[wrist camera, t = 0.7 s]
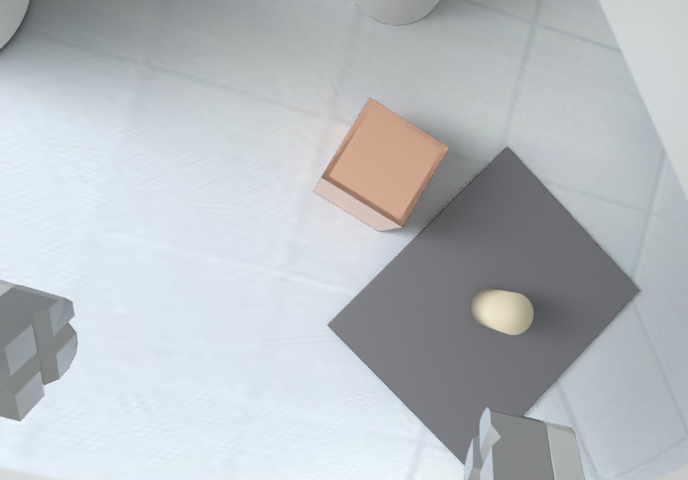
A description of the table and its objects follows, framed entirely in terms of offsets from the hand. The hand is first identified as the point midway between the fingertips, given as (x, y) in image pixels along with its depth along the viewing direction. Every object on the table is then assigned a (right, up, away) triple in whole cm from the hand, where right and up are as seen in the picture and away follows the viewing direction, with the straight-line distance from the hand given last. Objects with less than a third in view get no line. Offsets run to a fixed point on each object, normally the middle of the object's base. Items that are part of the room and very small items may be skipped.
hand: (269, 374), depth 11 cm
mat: (+13, -3, +33) cm, 36 cm away
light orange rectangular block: (+3, +7, +32) cm, 33 cm away
